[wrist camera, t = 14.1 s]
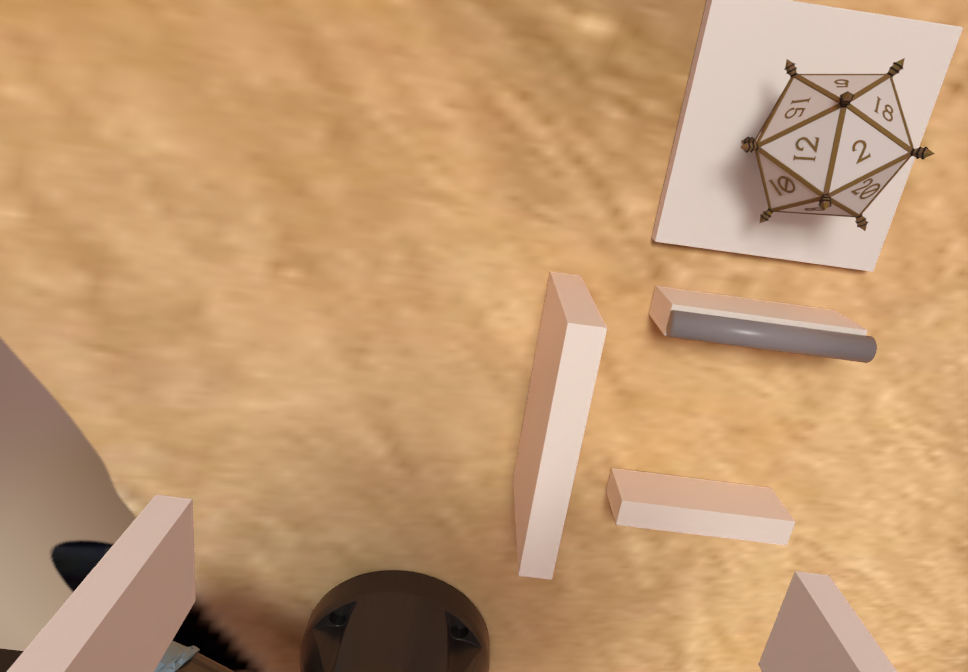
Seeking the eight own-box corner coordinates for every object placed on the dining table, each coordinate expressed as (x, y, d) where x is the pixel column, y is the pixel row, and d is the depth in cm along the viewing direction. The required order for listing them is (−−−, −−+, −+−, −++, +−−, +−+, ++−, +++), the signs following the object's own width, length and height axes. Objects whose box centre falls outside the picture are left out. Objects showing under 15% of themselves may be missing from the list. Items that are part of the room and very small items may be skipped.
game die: (797, 124, 40) (985, 132, 32) (735, 241, 40) (911, 276, 32) (746, 24, 34) (962, 5, 26) (673, 160, 34) (871, 180, 26)
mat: (864, 267, 40) (873, 271, 39) (651, 238, 40) (655, 241, 39) (950, 28, 35) (963, 27, 35) (708, -9, 35) (714, -12, 34)
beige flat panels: (763, 509, 47) (830, 611, 38) (512, 479, 46) (518, 575, 37) (833, 309, 41) (933, 371, 32) (550, 270, 41) (567, 322, 31)
